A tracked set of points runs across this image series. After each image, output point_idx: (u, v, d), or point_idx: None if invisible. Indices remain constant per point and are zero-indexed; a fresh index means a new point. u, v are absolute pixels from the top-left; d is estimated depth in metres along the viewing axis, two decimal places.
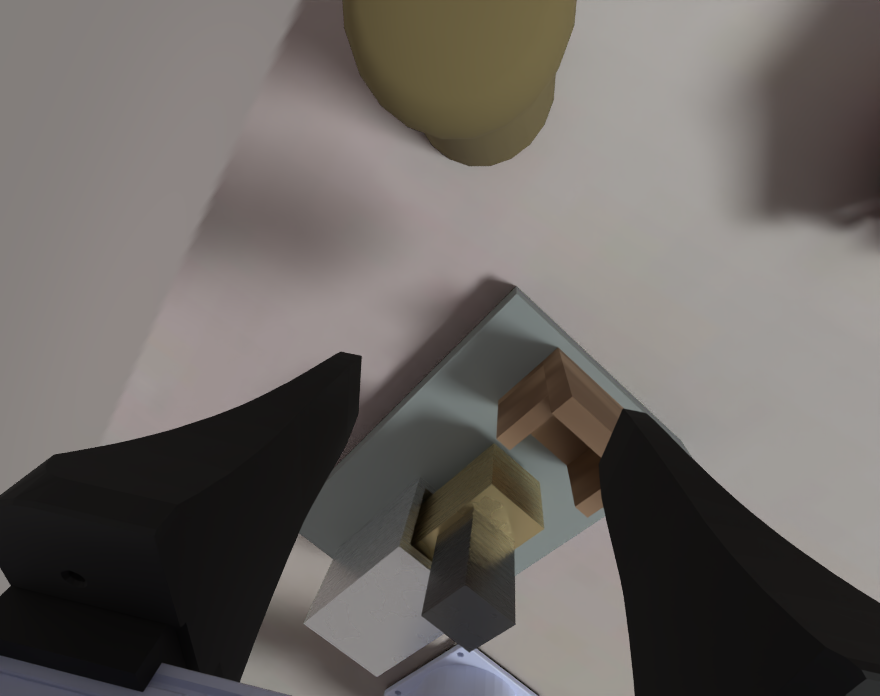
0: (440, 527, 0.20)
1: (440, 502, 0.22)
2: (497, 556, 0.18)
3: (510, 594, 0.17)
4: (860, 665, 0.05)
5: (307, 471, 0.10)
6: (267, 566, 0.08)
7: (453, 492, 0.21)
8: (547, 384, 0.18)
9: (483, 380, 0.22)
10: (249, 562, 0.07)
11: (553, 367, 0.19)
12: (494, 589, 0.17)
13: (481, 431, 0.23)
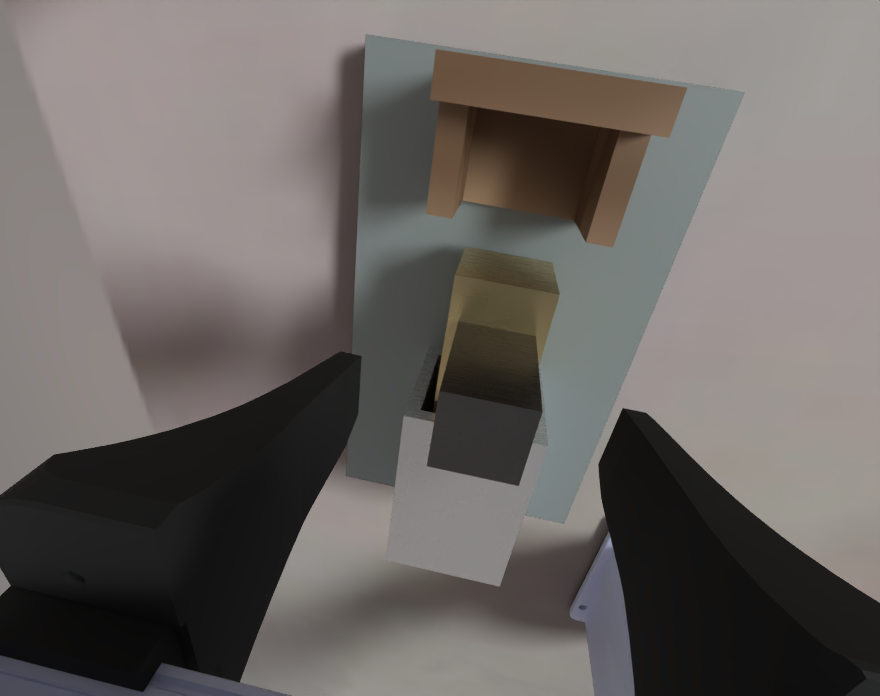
0: (442, 371, 0.15)
1: None
2: (503, 355, 0.12)
3: (529, 384, 0.11)
4: (860, 665, 0.05)
5: (307, 471, 0.10)
6: (267, 566, 0.08)
7: None
8: None
9: (410, 180, 0.16)
10: (249, 562, 0.07)
11: None
12: (498, 385, 0.11)
13: (452, 248, 0.17)
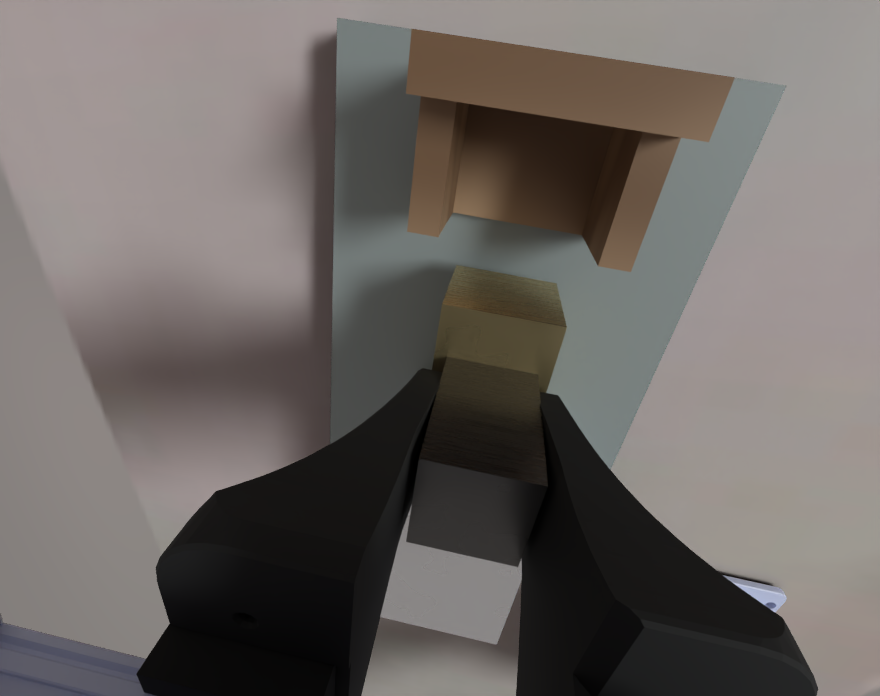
0: None
1: None
2: (499, 402, 0.10)
3: (531, 445, 0.09)
4: (642, 615, 0.05)
5: (406, 493, 0.10)
6: (382, 593, 0.08)
7: None
8: None
9: (392, 189, 0.14)
10: (377, 592, 0.07)
11: None
12: (492, 447, 0.09)
13: (442, 265, 0.15)
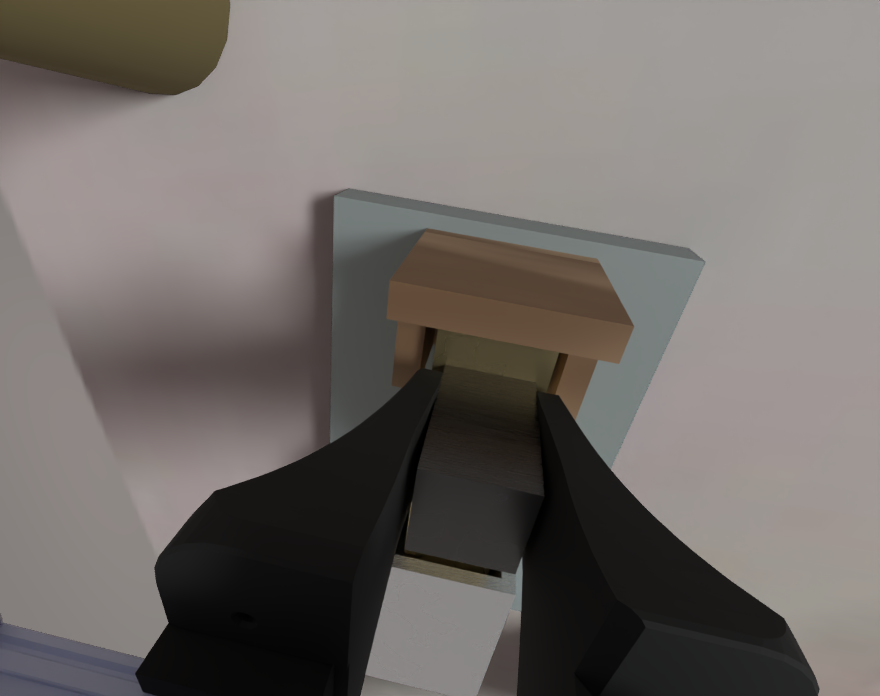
0: None
1: None
2: (497, 410, 0.10)
3: (529, 454, 0.09)
4: (643, 615, 0.05)
5: (406, 492, 0.10)
6: (381, 593, 0.08)
7: None
8: None
9: (381, 321, 0.16)
10: (376, 592, 0.07)
11: None
12: (489, 457, 0.09)
13: None
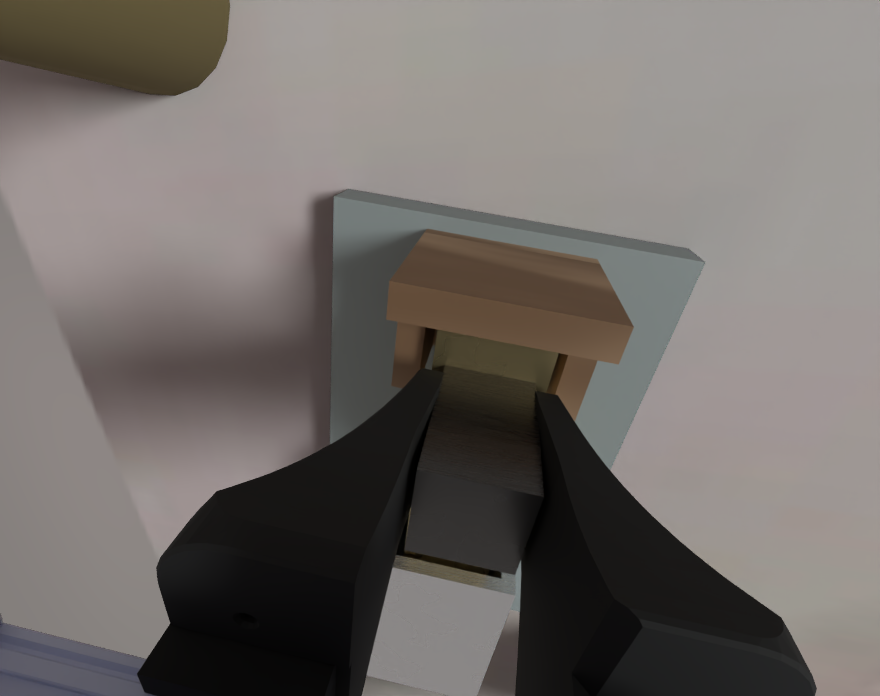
0: None
1: None
2: (496, 411, 0.10)
3: (528, 454, 0.09)
4: (640, 614, 0.05)
5: (407, 493, 0.10)
6: (382, 593, 0.08)
7: None
8: None
9: (381, 321, 0.16)
10: (378, 592, 0.07)
11: None
12: (489, 458, 0.09)
13: None
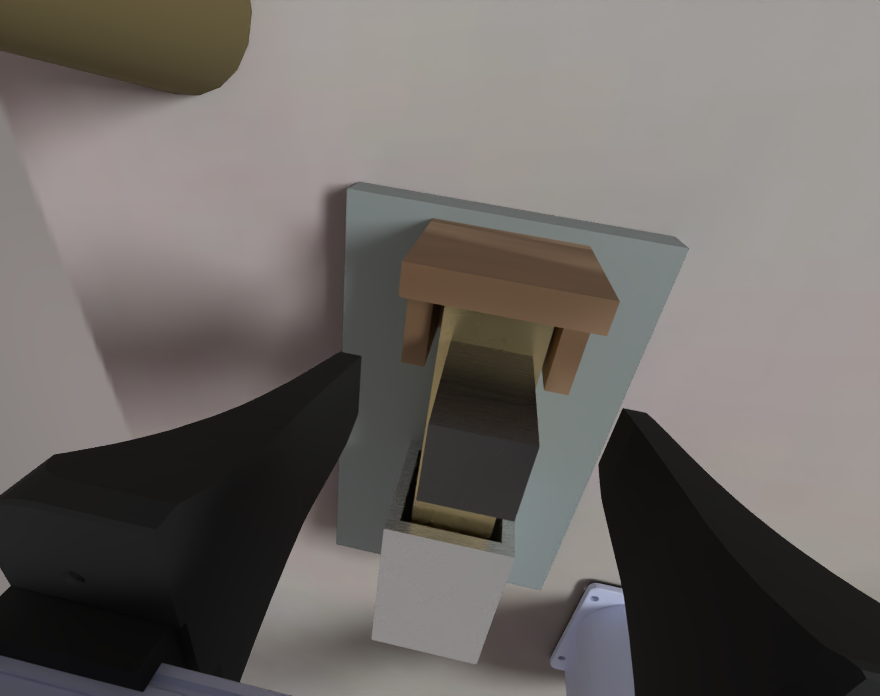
0: (434, 391, 0.14)
1: None
2: (497, 379, 0.12)
3: (526, 414, 0.11)
4: (860, 665, 0.05)
5: (307, 471, 0.10)
6: (267, 566, 0.08)
7: None
8: None
9: (390, 305, 0.18)
10: (249, 562, 0.07)
11: None
12: (491, 415, 0.10)
13: (430, 361, 0.19)
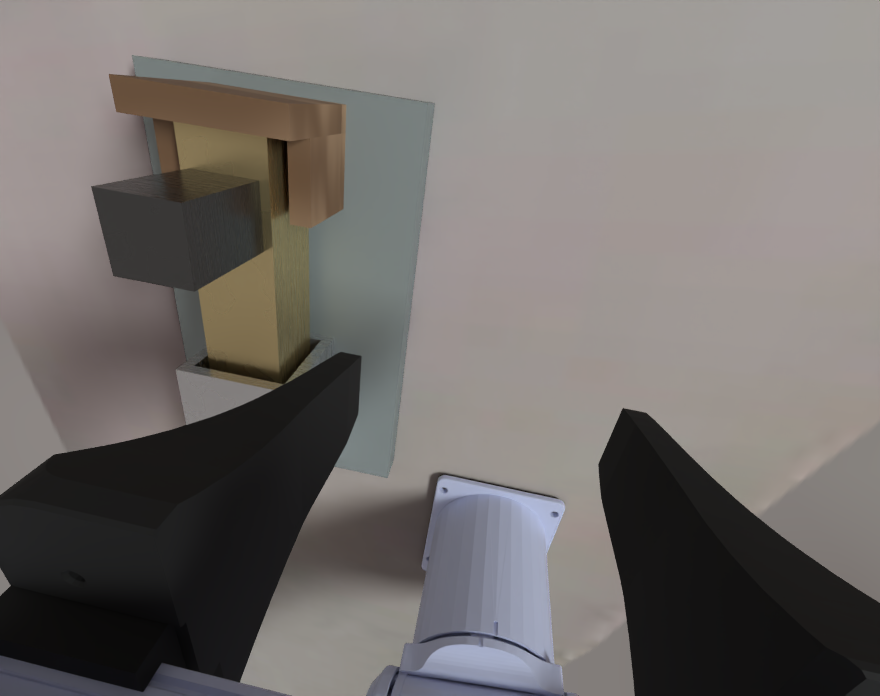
0: None
1: None
2: (201, 182, 0.13)
3: (197, 193, 0.12)
4: (860, 665, 0.05)
5: (307, 471, 0.10)
6: (267, 566, 0.08)
7: None
8: None
9: None
10: (249, 562, 0.08)
11: None
12: (161, 190, 0.12)
13: None
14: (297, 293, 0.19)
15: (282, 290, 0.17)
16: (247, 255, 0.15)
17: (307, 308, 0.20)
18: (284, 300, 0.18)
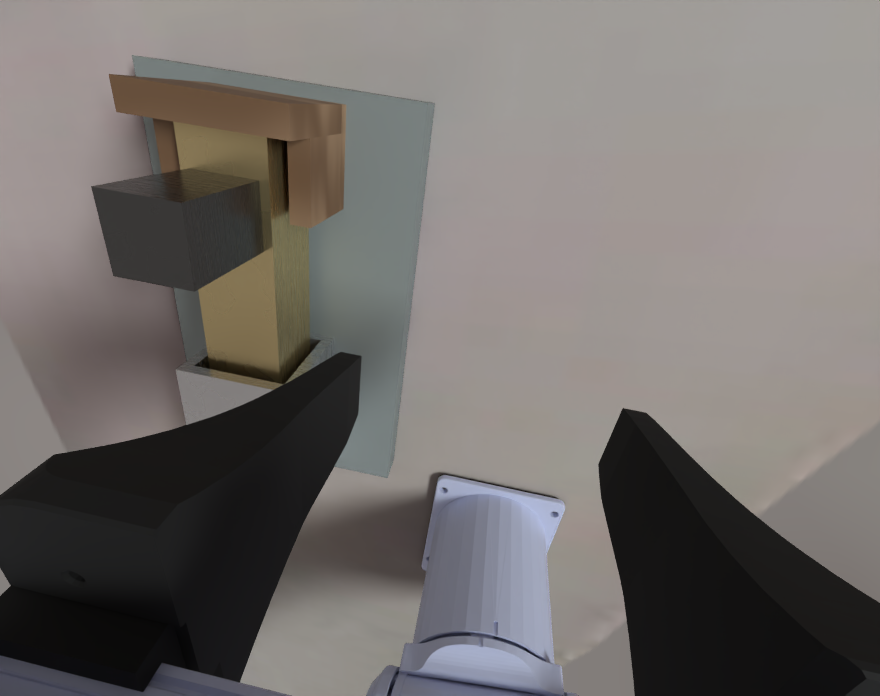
0: None
1: None
2: (201, 182, 0.13)
3: (197, 193, 0.12)
4: (860, 665, 0.05)
5: (307, 471, 0.10)
6: (267, 566, 0.08)
7: None
8: None
9: None
10: (249, 562, 0.08)
11: None
12: (161, 190, 0.12)
13: None
14: (297, 293, 0.19)
15: (282, 290, 0.17)
16: (247, 255, 0.15)
17: (307, 308, 0.20)
18: (284, 300, 0.18)
